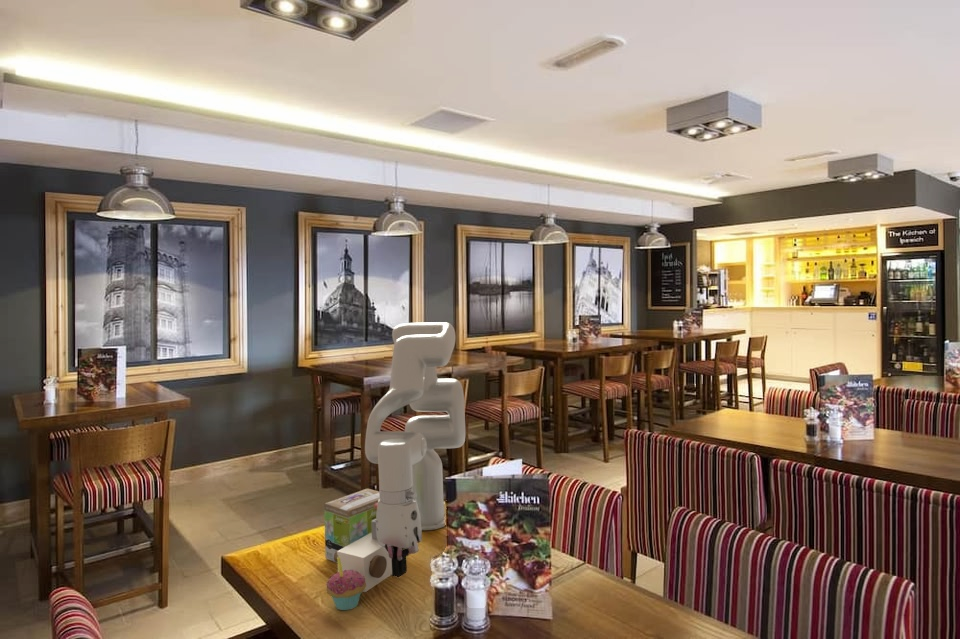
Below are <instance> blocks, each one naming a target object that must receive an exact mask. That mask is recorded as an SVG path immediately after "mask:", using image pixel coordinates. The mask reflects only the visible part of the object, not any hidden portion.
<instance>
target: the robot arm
mask: <svg viewBox="0 0 960 639" xmlns="http://www.w3.org/2000/svg"><path fill="white" fill-rule="evenodd" d="M391 336H392V341H393V349H392V350H393V351H392V359H391V360H392V361H391V370H390V371H391V372H390V379H389V389H388V390H387V392H386V394H384V395H383V396H382V397H381V398H380V399H379V400H378V402H377V403H376V404H375V406H374V407H373V409H372V410H371V412H370V414H369V417H368V420H367V423H366V424H367V425H366V432H365V440H364V441H365V442H364V453H365V457H366V459H367V460H368V461H369V462H370V463H372V464H376V465H378V486H379V487H378V489H379V494H380V499H379V500H378V505H377V513H376V536H377V540H378V541H379V545H381V546H382V547H384V548H386V550H387V551H388V554H389V557H390V558H391V559H392V575H391V576H392V577H396V578H398V579H399V578H400V577H402V576H403V575H405V574H406V573H407V568H408V567H407V557H408V556H409V555H412V554H413V555H414V554H416V553H418V552H419V551H420V548H419V543H421V542H422V540H423V535H422V534H423V532H422V531H433V530H437V529H438V530H439V529H442V528H444V527H446V526H445V514H446V510H445V501H444V482H443V481H444V479H443V477H444V476H443V463H442V460H441V458H440V456H439V454H438V453H437V451H435V450H436V449H457V448H461V447H463V445H464V444H465V441H466V432H467V431H466V416H465V413H466V411H465V410H466V409H465V397H464V396H465V395H464V389H463V385H462V382H460V380H458V379H456V378H451V377H450V378H449V377H448V378H442V377H441V378H438V373H437V372H438V371H437V367H439V368H440V367H442V368H443V367H445V366H447V364H449V362H450V360H451V357H452V354H453V351H454V348H455V344H456V331H455V328H454V326H453V325H452V324H451V323H450V322H443V321H438V322H437V321H436V322H434V321H433V322H405V323H399V324H398V325H395V326H394V327H393V328H392V333H391ZM407 405H409V407H410V409H411V410H413V411H415V412H418V413H419V412H420V413H428V412H429V413H432V412H433V413H438V412H439V413H440V412H441V413H443V412H445V413H447V414H439V415H438V414H426V415H425V414H423V415H422V414H421V415H416V416H412V417H411V418H409V419H408V420H407V421H406V423H405V424H404V426H405V427H404V431H403V430H402V431H401V430H395V431H394V430H391V431H387V430H385V431H383V430H382V431H381V428H382V425H383V423H384V421H385V420H386V419H387V417H388V416H390V415H391V414H392V413H394V412H395V411H398V410H400V409H401V408H403V407H406V406H407Z"/></svg>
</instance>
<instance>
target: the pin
mask: <svg viewBox="0 0 960 639" xmlns="http://www.w3.org/2000/svg"><path fill="white" fill-rule="evenodd" d="M334 561H336V562H338V561H337V551H336V552H335V554H334ZM336 562H335V563H336ZM386 566H387V561H386V558H385V557H384V556H380V555H377V556H375V557H374V558H373V559H372V561H370V567H369V572H370V575H371V576H372V577H375V578H380V577H381V576H382V575H383V574H384V572H385V570H386Z"/></svg>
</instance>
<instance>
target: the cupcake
mask: <svg viewBox="0 0 960 639" xmlns="http://www.w3.org/2000/svg"><path fill="white" fill-rule="evenodd" d="M337 557H338V555H337ZM337 561H338V563H337V568H338V567H339V572H338V571H337V572H336V573H335V574H332V576H330V577H329V579H328V580H327V581H326V583H325V584H326V587H325V589H326V590H325V591H326V593H327V594H328V596H329V597H331V598H332V599H333V603H334V605H335V607H336V609H337V610H340V611H348V610H352V609H355V608H356V607H357V606H358V605H359V602H360V601H359V600H360V597H361V595H362V593H363V592H362V591H363V590H364V589H365V587H366V582H365V578H364V576H363V575H362V574H361V573H359V572H357V571H354V570H344V571H342V566H341V560H340V557H338V558H337Z"/></svg>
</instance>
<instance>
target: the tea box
mask: <svg viewBox="0 0 960 639" xmlns="http://www.w3.org/2000/svg"><path fill="white" fill-rule="evenodd" d="M379 499H380V494H379V491H378V490H375V489H371V488H368V487H367V488H365V489H362V490H359V491H357V492H353V493H350V494H348V495H344V496H342V497H339V498H337V499H334V500H331V501H328V502H324V543H325V544H324V548H325V549H324V550H325V551H324V553H325V554H324V555H325V559H327V560H328V561H331V562H333V563H336V564H338V562H336V561H334V554H335V552H336V551H338V550H340V549H342V548H344V547H346V546H348V545H349V544H351V543H353V542H355V541H357V540H359V539H360V538H362V537H364V536H366V535H368V534H369V533H371V532H372V529H371V521H372V520H374V519H376V513H377V510H375V506H374V504H375V503H378V500H379Z"/></svg>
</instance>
